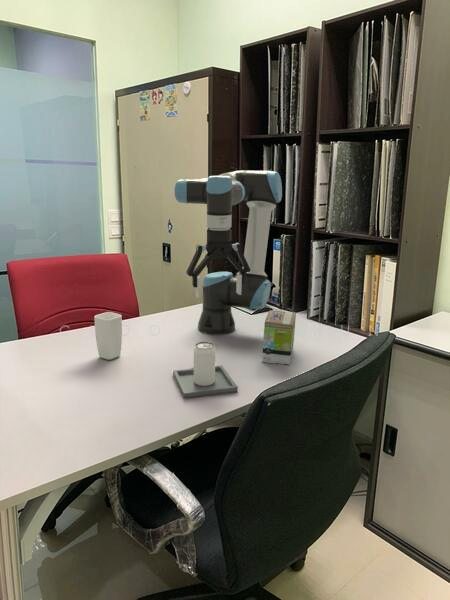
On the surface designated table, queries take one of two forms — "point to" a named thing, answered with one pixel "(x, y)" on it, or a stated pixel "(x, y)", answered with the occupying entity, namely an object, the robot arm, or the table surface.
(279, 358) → the tea box
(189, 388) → the tray
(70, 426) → the table surface
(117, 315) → the cup
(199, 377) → the can
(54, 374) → the table surface
